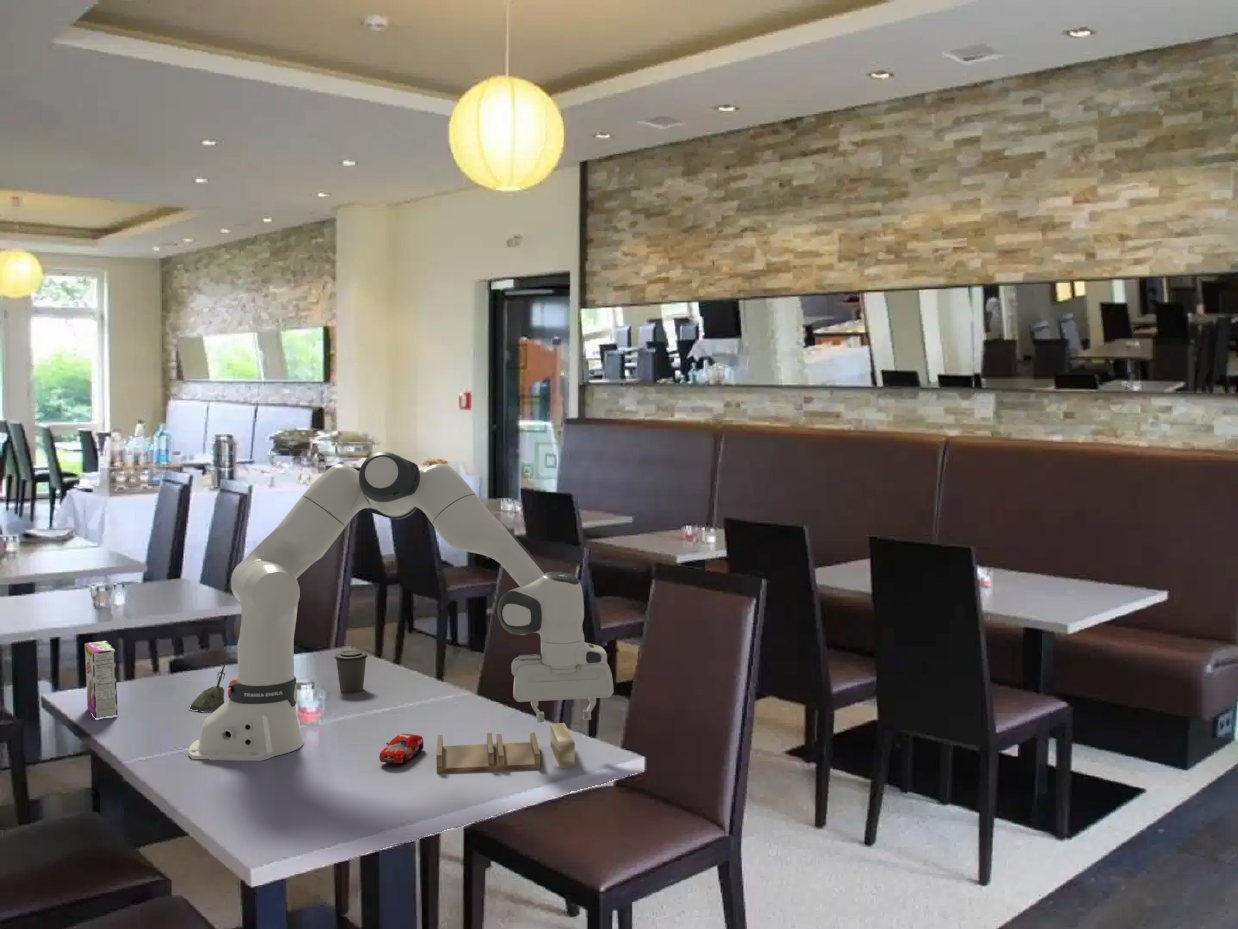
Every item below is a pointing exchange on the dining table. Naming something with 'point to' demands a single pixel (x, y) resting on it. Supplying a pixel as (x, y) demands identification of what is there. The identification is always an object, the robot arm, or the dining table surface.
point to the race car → (402, 748)
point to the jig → (488, 756)
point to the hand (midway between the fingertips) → (563, 720)
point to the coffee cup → (351, 670)
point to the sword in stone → (210, 696)
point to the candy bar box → (101, 679)
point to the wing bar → (562, 745)
